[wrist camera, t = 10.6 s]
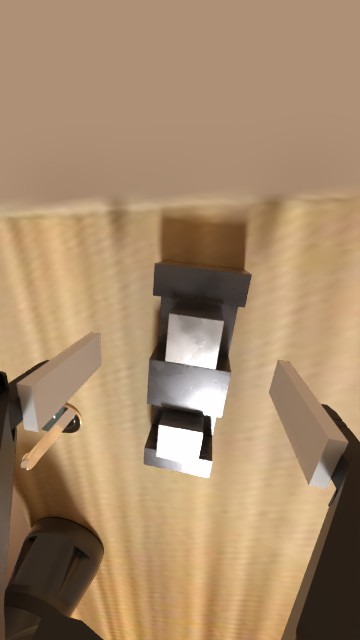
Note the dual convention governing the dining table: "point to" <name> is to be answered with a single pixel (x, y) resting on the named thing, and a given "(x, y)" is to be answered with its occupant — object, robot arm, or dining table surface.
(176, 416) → the light grey cube
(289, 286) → the dining table surface
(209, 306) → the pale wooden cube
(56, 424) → the stand
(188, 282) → the rail
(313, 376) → the dining table surface
